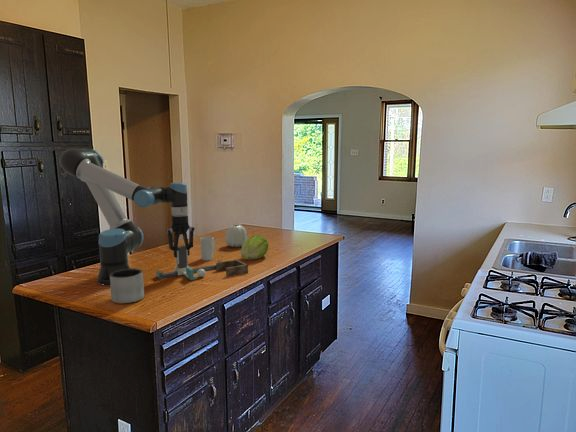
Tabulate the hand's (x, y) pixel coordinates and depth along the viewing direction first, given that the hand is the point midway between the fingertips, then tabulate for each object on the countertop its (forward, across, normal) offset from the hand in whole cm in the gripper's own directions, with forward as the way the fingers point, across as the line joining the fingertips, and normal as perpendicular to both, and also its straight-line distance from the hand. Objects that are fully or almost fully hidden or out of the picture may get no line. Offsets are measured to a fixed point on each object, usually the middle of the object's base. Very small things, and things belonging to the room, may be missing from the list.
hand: (182, 262), depth 202 cm
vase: (+6, +48, +38) cm, 62 cm away
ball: (+4, +6, -10) cm, 12 cm away
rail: (+6, +5, 0) cm, 7 cm away
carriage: (+5, 0, -5) cm, 7 cm away
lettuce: (+6, +43, +6) cm, 43 cm away
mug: (+6, +22, +20) cm, 31 cm away
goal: (+6, +21, -10) cm, 24 cm away
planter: (+6, -30, -21) cm, 37 cm away
